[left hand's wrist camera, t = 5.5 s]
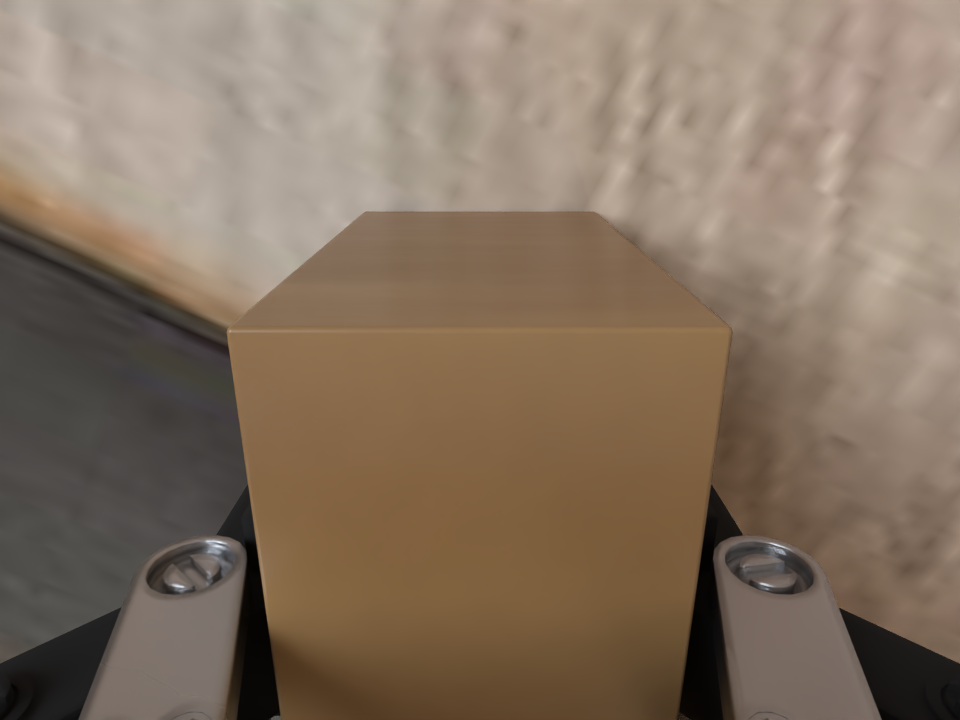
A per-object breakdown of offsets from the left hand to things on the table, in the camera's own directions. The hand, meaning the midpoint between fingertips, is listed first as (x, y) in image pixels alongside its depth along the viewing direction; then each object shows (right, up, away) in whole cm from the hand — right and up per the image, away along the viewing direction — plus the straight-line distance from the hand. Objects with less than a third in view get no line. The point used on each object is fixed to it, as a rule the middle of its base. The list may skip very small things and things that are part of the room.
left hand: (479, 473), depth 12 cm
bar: (0, -28, +13) cm, 31 cm away
